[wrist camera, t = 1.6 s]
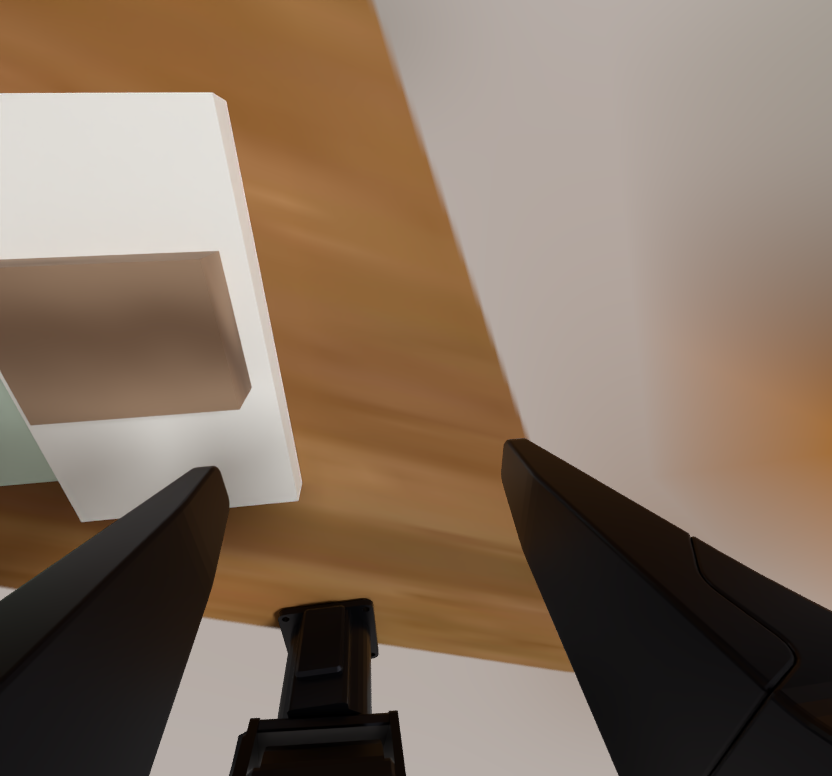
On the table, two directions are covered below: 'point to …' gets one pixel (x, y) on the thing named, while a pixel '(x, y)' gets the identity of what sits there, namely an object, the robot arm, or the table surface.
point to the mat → (19, 448)
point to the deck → (144, 234)
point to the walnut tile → (120, 336)
